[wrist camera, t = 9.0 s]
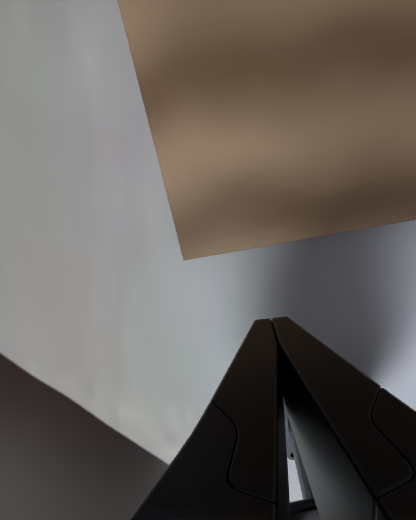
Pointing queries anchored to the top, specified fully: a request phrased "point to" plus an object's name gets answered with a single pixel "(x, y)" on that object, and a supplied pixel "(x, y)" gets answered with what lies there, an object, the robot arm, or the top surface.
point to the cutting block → (278, 115)
